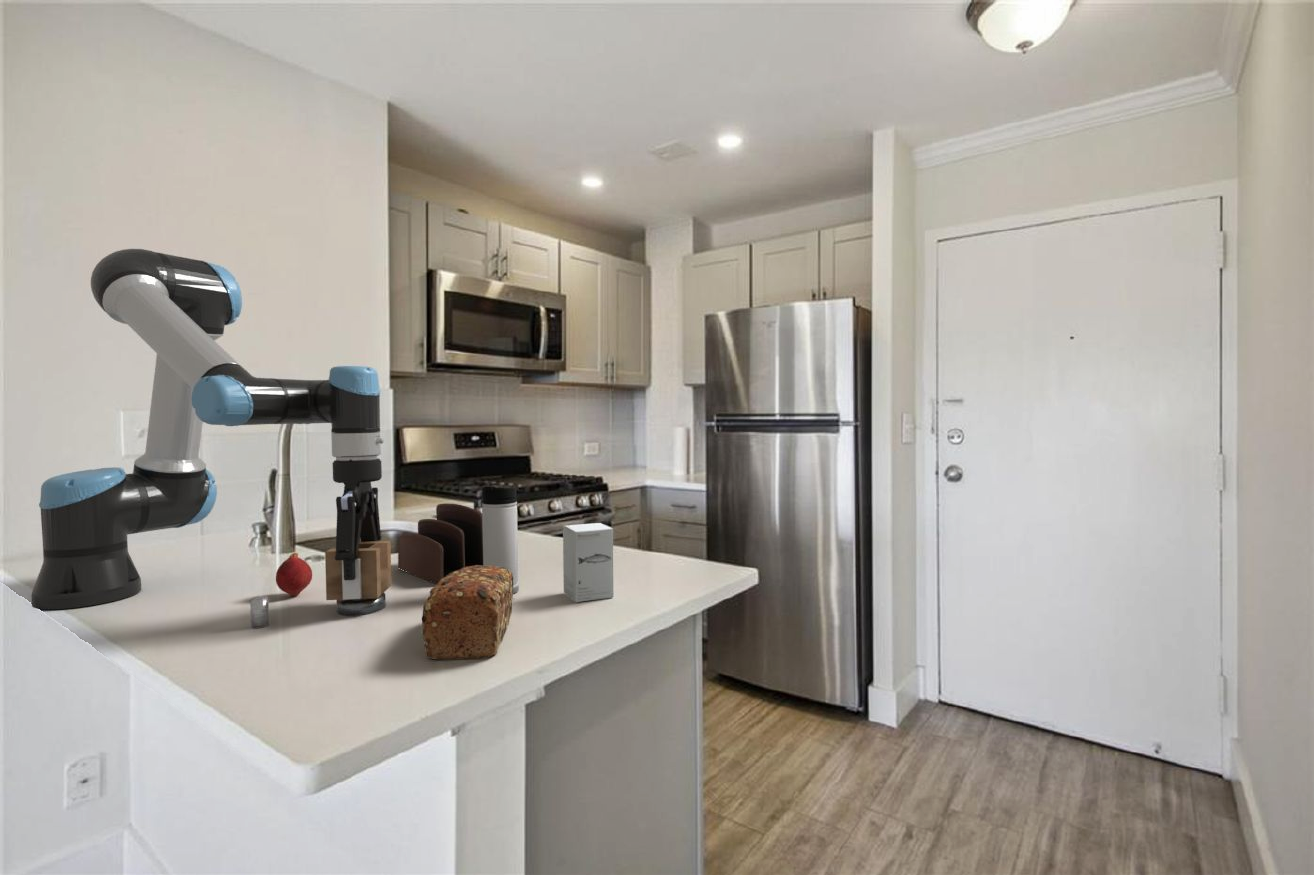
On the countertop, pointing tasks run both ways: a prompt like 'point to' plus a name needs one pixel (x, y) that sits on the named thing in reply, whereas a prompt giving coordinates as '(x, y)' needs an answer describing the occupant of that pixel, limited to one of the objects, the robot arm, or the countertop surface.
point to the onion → (293, 575)
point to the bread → (468, 613)
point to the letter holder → (443, 543)
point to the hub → (361, 606)
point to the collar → (372, 570)
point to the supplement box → (588, 561)
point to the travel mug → (500, 529)
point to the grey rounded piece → (259, 612)
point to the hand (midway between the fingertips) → (361, 591)
